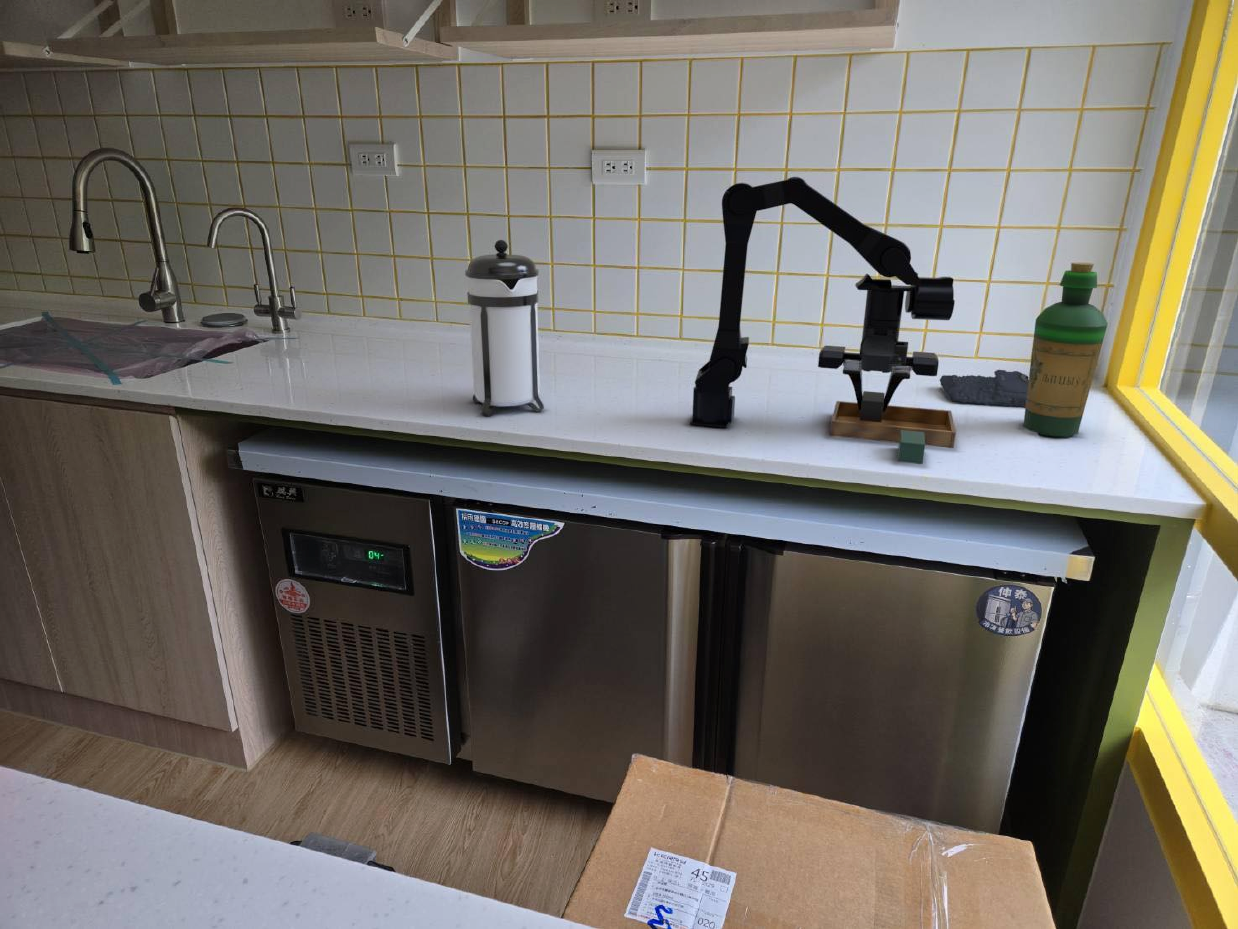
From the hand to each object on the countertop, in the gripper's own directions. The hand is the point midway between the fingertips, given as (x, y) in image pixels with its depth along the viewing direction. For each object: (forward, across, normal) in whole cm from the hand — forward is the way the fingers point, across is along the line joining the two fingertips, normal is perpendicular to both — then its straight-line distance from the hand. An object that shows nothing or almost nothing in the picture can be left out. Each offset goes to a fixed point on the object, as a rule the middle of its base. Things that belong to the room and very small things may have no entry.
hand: (871, 410), depth 138 cm
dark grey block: (+1, 0, 0) cm, 1 cm away
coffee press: (+4, -66, -6) cm, 66 cm away
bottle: (+4, +29, +10) cm, 31 cm away
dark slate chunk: (+4, +24, +32) cm, 40 cm away
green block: (+4, +6, -13) cm, 15 cm away
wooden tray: (+4, +3, 0) cm, 5 cm away
